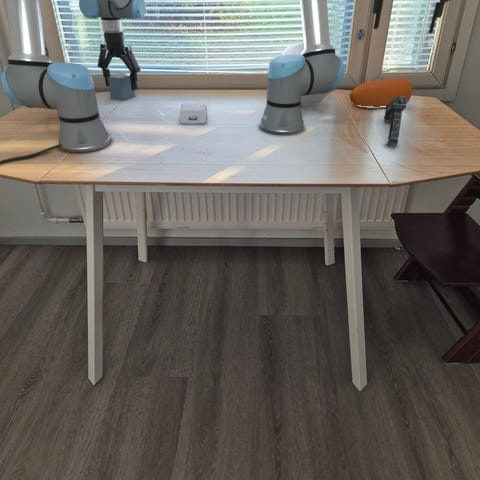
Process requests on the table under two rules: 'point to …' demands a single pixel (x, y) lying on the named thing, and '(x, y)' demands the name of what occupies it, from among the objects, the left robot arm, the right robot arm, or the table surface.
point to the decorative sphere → (306, 99)
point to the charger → (193, 113)
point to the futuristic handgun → (395, 118)
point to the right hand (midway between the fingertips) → (402, 30)
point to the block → (120, 86)
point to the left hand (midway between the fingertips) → (121, 87)
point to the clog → (381, 92)
